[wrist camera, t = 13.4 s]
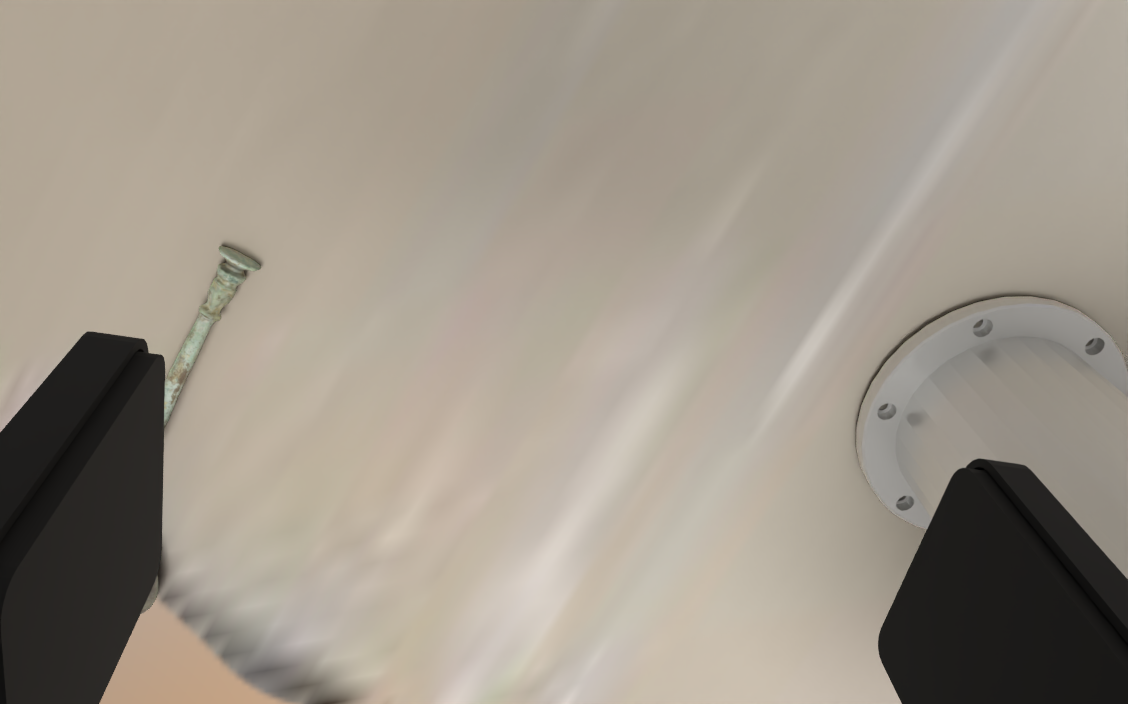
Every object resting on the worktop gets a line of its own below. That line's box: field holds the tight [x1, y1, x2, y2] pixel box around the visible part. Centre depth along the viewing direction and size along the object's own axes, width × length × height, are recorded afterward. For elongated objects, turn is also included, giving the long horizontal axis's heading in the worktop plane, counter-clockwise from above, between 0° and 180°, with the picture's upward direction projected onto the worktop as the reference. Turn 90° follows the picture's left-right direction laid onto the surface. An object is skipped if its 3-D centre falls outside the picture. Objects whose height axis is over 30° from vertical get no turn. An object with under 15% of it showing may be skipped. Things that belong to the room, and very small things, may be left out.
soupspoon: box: [141, 246, 261, 613], centre depth 42 cm, size 22×3×7 cm
